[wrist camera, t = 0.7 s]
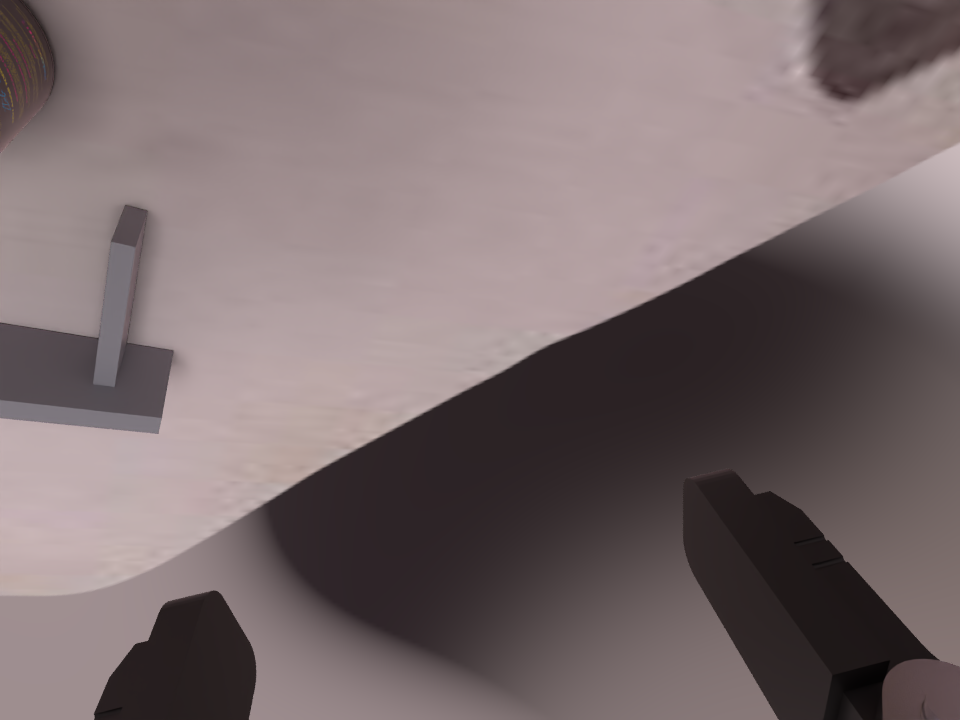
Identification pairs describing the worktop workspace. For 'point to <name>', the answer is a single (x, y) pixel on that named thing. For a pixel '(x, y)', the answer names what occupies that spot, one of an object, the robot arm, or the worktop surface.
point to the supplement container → (21, 69)
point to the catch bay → (90, 358)
